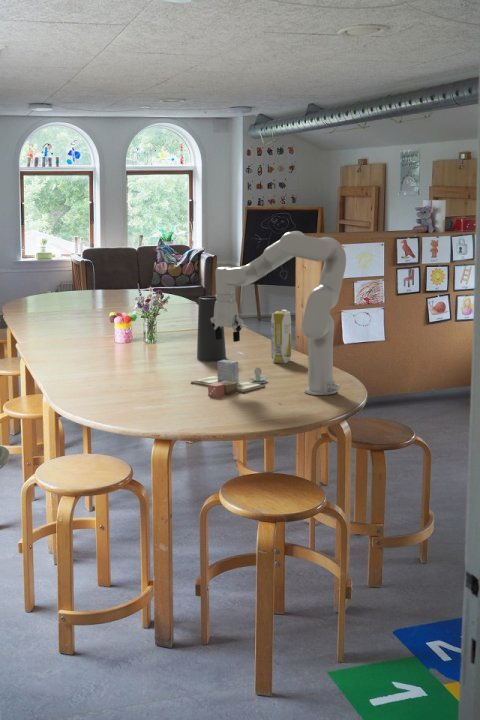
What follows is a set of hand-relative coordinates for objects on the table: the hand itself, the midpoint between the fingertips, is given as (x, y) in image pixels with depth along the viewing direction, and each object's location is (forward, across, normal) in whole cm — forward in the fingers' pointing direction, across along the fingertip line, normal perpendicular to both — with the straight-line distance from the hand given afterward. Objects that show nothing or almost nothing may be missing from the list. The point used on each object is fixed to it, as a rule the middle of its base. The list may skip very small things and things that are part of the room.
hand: (227, 340), depth 356 cm
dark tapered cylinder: (+18, -45, +37) cm, 61 cm away
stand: (+19, +8, -10) cm, 23 cm away
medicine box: (+18, -1, 0) cm, 18 cm away
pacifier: (+19, +6, +12) cm, 23 cm away
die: (+17, +8, -13) cm, 23 cm away
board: (+19, -1, 0) cm, 19 cm away
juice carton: (+19, -14, +51) cm, 56 cm away
